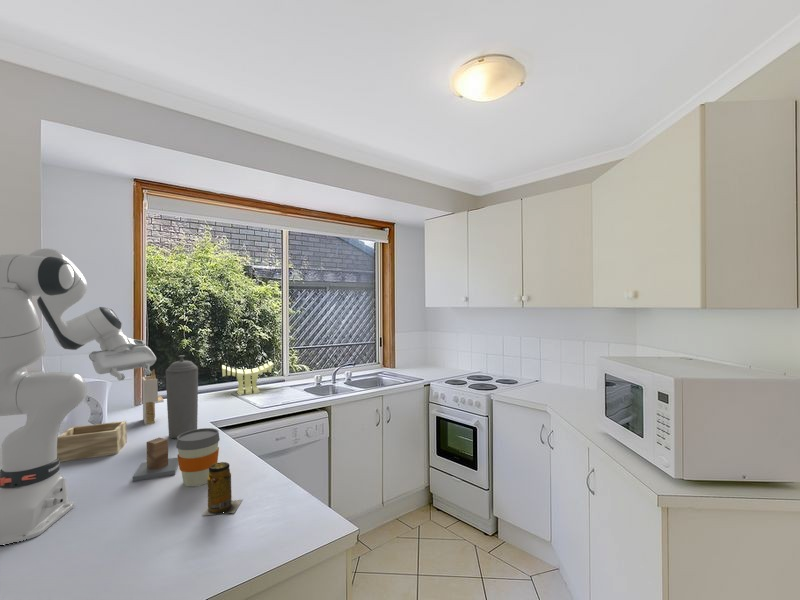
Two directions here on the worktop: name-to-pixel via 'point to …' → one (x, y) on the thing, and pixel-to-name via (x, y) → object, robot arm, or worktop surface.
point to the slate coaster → (147, 473)
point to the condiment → (220, 490)
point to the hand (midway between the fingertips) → (135, 376)
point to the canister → (182, 397)
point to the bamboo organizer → (91, 441)
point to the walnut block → (157, 453)
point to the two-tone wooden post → (150, 398)
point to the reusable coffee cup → (197, 454)
